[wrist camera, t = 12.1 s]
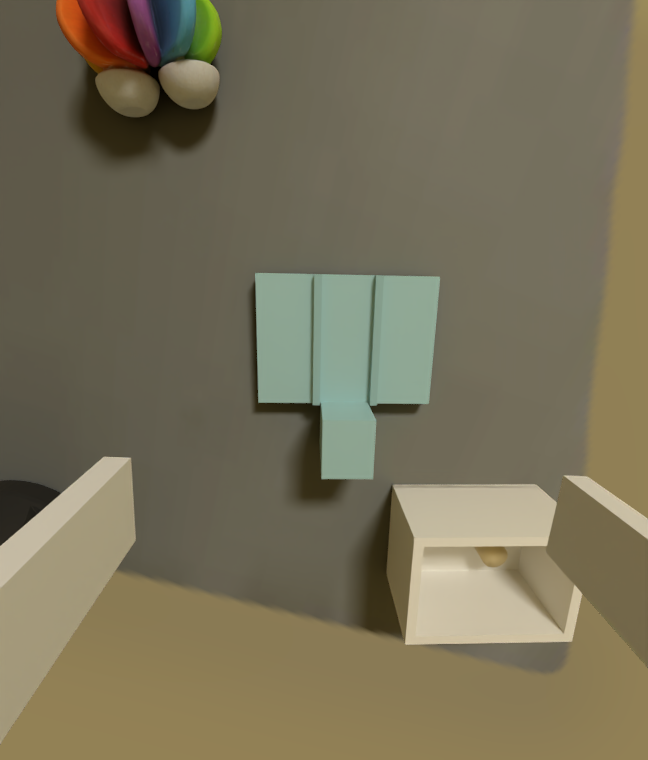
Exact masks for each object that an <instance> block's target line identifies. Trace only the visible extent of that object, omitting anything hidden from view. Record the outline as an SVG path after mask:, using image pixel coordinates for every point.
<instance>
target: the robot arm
mask: <svg viewBox="0 0 648 760" xmlns="http://www.w3.org/2000/svg"><path fill="white" fill-rule="evenodd" d="M135 540H136V536H135V519H134V502H133V484H132V467H131V458H122V457H103V458H102V459H101V460H100V461H99V462H97V463H96V464H95V465H94V466H93V467H92V468H90V469H89V470H88V471H87V472H86V473H85V474H83V475H82V476H81V477H80V478H79V479H78V480H76V481H75V482H74V483H73V484H72V485H71V486H70V487H68V488H67V489H66V490H65V491H64V492H63V493H59V492H57V491H55V490H53V489H51V488H48V487H45V486H43V485H39V484H36V483H31V482H25V481H15V480H7V481H0V744H1V742H2V741H3V739H4V738H5V736H6V735H7V733H8V732H9V730H10V729H11V727H12V726H13V724H14V723H15V721H16V719H17V718H18V717H19V715H20V714H21V712H22V711H23V709H24V708H25V706H26V705H27V703H28V702H29V700H30V699H31V697H32V696H33V694H34V693H35V691H36V690H37V688H38V687H39V685H40V684H41V682H42V681H43V679H44V678H45V676H46V675H47V673H48V672H49V670H50V668H51V667H52V665H53V664H54V662H55V661H56V659H57V658H58V656H59V655H60V653H61V652H62V650H63V649H64V647H65V646H66V644H67V643H68V641H69V640H70V638H71V637H72V635H73V634H74V632H75V631H76V629H77V628H78V626H79V625H80V623H81V622H82V620H83V618H84V617H85V616H86V614H87V613H88V611H89V610H90V608H91V607H92V605H93V604H94V602H95V601H96V599H97V597H98V596H99V595H100V593H101V592H102V590H103V589H104V587H105V586H106V584H107V583H108V581H109V580H110V578H111V577H112V575H113V574H114V572H115V571H116V569H117V568H118V566H119V564H120V563H121V561H122V560H123V558H124V557H125V555H126V554H127V552H128V551H129V549H130V548H131V546H132V545H133V543H134V542H135ZM546 553H547V554H548V555H549V556H550V558H551V559H552V560H553V561H554V562H555V563H556V564H557V566H558V567H559V568H560V569H561V570H562V571H563V572H564V573H565V575H566V576H567V577H568V578H569V579H570V580H571V581H572V583H573V584H574V585H575V586H576V587H577V588H578V589H579V590H580V592H581V593H582V594H583V595H584V596H585V597H586V598H587V599H588V601H589V602H590V603H591V604H592V605H593V606H594V607H595V609H596V610H597V611H598V612H599V613H600V614H601V615H602V617H603V618H604V619H605V620H606V621H607V622H608V623H609V624H610V626H611V627H612V628H613V629H614V630H615V631H616V632H617V633H618V635H619V636H620V637H621V638H622V639H623V640H624V641H625V643H627V645H628V646H629V647H630V648H631V649H632V651H633V652H634V653H635V654H636V655H637V656H638V657H639V658H640V659H641V661H642V662H643V663H644V664H645V665H646V666H647V668H648V519H647V518H646V517H645V516H643V515H641V514H640V513H639V512H637V511H636V510H634V509H633V508H631V507H630V506H629V505H627V504H626V503H624V502H623V501H622V500H620V499H618V498H617V497H616V496H614V495H613V494H611V493H610V492H609V491H607V490H606V489H604V488H603V487H601V486H600V485H599V484H597V483H596V482H594V481H593V480H591V479H590V478H588V477H587V476H564V475H563V479H562V483H561V488H560V492H559V496H558V501H557V505H556V509H555V513H554V518H553V522H552V526H551V531H550V535H549V539H548V544H547V548H546Z"/></svg>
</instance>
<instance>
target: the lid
mask: <svg viewBox="0 0 648 760" xmlns="http://www.w3.org/2000/svg"><path fill="white" fill-rule="evenodd" d="M255 282H256V324H257V366H258V403H313V405H320V463H321V479H373V470H374V452H375V434H376V419H375V417H374V415H373V413H372V411H371V409H370V406H377V403H380V404H429V395H430V384H431V373H432V362H433V350H434V339H435V328H436V317H437V306H438V295H439V284H440V277H428V276H382V275H328V274H279V273H255ZM368 403H369V404H368ZM369 405H370V406H369Z"/></svg>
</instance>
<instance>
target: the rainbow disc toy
mask: <svg viewBox="0 0 648 760" xmlns="http://www.w3.org/2000/svg"><path fill="white" fill-rule="evenodd" d="M56 16H57V21H58V23H59V26H60V28H61V30H62V32H63V34H64V35H65V37H66V39H67V40H68V41H69V43H70V44H71V45H72V46H73V48H74V49H75V50H76V51H77V52H78V53H79V54H80V55H82V56H83V57H84V58H85V60H86V62H87V63H88V64H89V65H90V67H91V68H92V69H93V70H94V71H95V72H96V73H98V75H97V76H96V78H95V82H96V86H97V89H98V91H99V93H100V95H101V96H102V98H103V99H104V101H105V102H106V103H107V104H108V105H109V106H110V107H111V108H112V109H114V110H115V111H116V112H118V113H120V114H122V115H124V116H128V117H143V116H146V115H148V114H149V113H151V112H152V111H153V110H154V109H155V107H156V105H157V103H158V100H159V94H160V85H159V84H158V82H157V81H156V80H155V79H154V78H152V77H151V76H150V72H151V66H152V67H158V66H160V67H161V69H160V70H159V72H158V75H159V80H160V83H161V85H162V87H163V89H164V91H165V92H166V94H167V95H168V96H169V97H170V98H171V99H172V100H173V101H174V102H175V103H177V104H178V105H180V106H182V107H184V108H187V109H201V108H204V107H206V106H208V105H209V104H210V103H211V102H212V101H213V100H214V98H215V97H216V95H217V92H218V88H219V73H218V70H217V69H216V68H215V67H214V66H212V65H210V64H211V62H212V61H213V59H214V58H215V56H216V54H217V52H218V49H219V47H220V43H221V38H222V29H221V23H220V19H219V15H218V13H217V11H216V9H215V8H214V6H213V5H212V3H211V2H210V1H209V0H57V2H56ZM150 65H151V66H150Z"/></svg>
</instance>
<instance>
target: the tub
mask: <svg viewBox="0 0 648 760" xmlns="http://www.w3.org/2000/svg"><path fill="white" fill-rule="evenodd" d="M556 505H557V503H556V502H555V501H554V500H553V499H552V498H551V497H550V496H548V495H547V494H546V493H545V492H544V491H543V490H542V489H541V488H539V487H538V486H537V485H536V484H401V485H392V498H391V513H390V527H389V541H388V556H387V570H386V575H387V578H388V582H389V586H390V590H391V593H392V597H393V601H394V605H395V609H396V612H397V616H398V620H399V624H400V627H401V631H402V635H403V639H404V643H405V645H408V644H465V643H522V642H572V639H573V634H574V629H575V625H576V620H577V616H578V611H579V606H580V602H581V597H582V593H581V592H580V590H579V589H578V588H577V587H576V586H575V585H574V584H573V583H572V581H571V580H570V579H569V578H568V577H567V576H566V575H565V573H564V572H563V571H562V570H561V569H560V568H559V567H558V566H557V564H556V563H555V562H554V561H553V560H552V559H551V558H550V556H549V555H548V554H547V553H546V548H547V544H548V539H549V535H550V531H551V526H552V522H553V518H554V513H555V509H556Z"/></svg>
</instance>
